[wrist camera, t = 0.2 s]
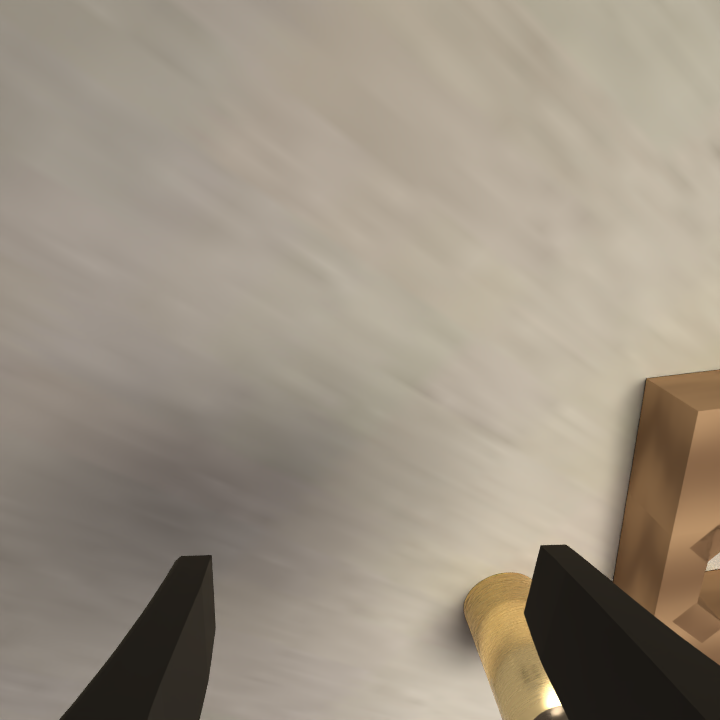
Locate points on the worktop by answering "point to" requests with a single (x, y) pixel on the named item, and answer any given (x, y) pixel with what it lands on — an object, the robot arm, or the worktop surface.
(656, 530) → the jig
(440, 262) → the worktop surface
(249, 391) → the worktop surface
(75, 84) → the worktop surface
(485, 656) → the bushing
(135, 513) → the worktop surface
